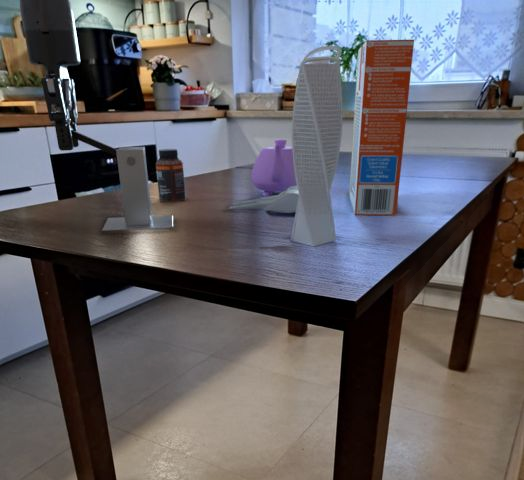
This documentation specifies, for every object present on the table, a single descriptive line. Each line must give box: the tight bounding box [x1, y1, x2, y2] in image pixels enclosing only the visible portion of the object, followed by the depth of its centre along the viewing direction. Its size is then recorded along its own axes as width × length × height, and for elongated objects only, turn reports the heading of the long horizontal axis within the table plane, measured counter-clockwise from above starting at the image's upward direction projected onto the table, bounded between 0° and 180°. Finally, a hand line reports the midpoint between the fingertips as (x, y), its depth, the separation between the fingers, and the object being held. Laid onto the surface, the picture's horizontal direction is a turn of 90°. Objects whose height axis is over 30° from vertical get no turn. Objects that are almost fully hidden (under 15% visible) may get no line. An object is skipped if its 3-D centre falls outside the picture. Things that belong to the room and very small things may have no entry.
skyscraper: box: [290, 45, 344, 247], centre depth 79 cm, size 8×8×28 cm
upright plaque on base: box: [101, 146, 174, 232], centre depth 91 cm, size 12×10×14 cm
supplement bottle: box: [155, 148, 187, 203], centre depth 114 cm, size 6×6×11 cm
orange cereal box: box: [348, 39, 415, 217], centre depth 106 cm, size 23×8×30 cm, turn 174°
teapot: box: [250, 139, 297, 197], centre depth 124 cm, size 20×14×12 cm
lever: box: [70, 126, 117, 157], centre depth 87 cm, size 13×5×2 cm, turn 99°
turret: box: [228, 186, 299, 214], centre depth 106 cm, size 10×20×5 cm, turn 82°
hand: (69, 148), depth 86 cm, fingers closed on lever, 5 cm apart
